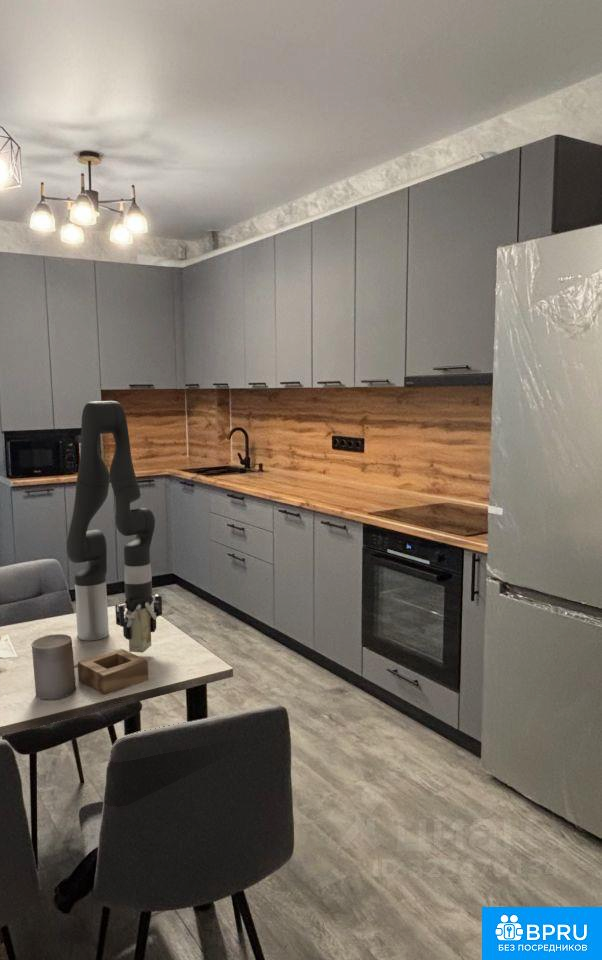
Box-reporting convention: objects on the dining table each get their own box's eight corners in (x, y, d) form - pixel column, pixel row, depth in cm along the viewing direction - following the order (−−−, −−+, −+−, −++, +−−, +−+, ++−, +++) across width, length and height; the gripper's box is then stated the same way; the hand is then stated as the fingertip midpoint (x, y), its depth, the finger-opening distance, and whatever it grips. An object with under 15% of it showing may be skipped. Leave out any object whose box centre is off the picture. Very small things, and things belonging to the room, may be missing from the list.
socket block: (78, 681, 187) (77, 661, 186) (121, 666, 196) (120, 648, 195) (104, 695, 178) (103, 675, 177) (148, 679, 187) (147, 660, 186)
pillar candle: (68, 681, 187) (63, 626, 185) (81, 693, 179) (77, 636, 177) (30, 691, 181) (25, 635, 179) (42, 704, 173) (37, 645, 171)
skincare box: (143, 653, 199) (141, 611, 197) (128, 652, 200) (127, 610, 198) (152, 645, 205) (150, 604, 203) (138, 643, 206) (136, 603, 204)
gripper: (152, 571, 207) (154, 625, 209) (108, 581, 197) (110, 638, 199) (167, 576, 202) (168, 631, 204) (122, 587, 192) (125, 645, 194)
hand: (140, 635), depth 202 cm, fingers closed on skincare box, 7 cm apart
